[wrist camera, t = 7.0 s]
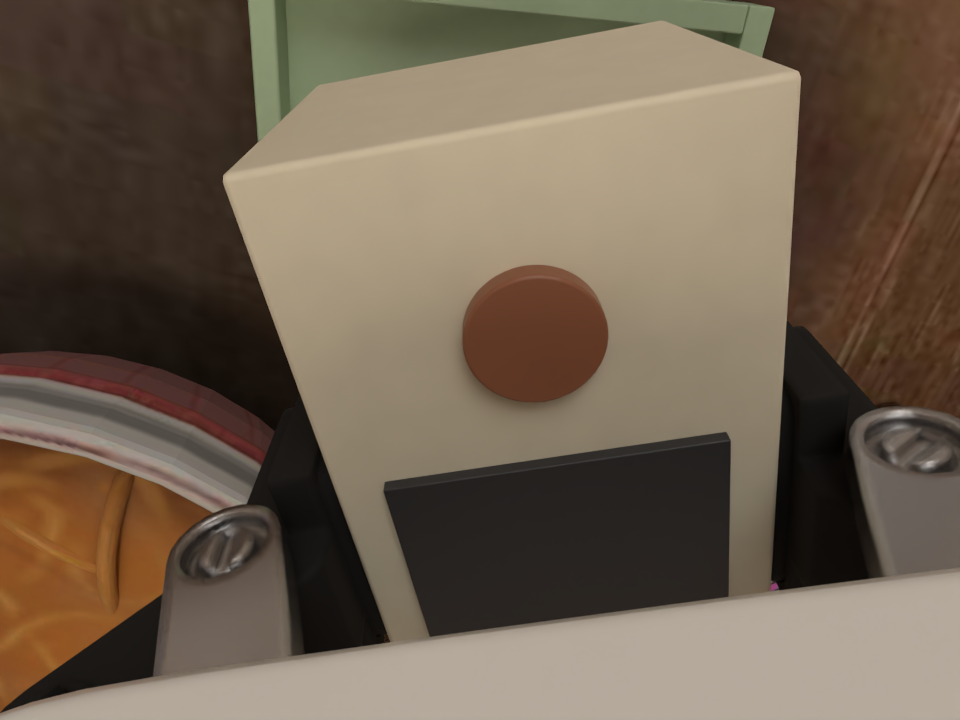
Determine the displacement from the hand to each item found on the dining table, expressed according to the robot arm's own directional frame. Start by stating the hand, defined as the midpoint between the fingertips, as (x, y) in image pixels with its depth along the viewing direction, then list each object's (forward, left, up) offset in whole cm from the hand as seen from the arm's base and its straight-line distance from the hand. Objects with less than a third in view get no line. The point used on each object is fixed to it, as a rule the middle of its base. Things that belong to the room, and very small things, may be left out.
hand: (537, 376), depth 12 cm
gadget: (0, 0, -1) cm, 1 cm away
